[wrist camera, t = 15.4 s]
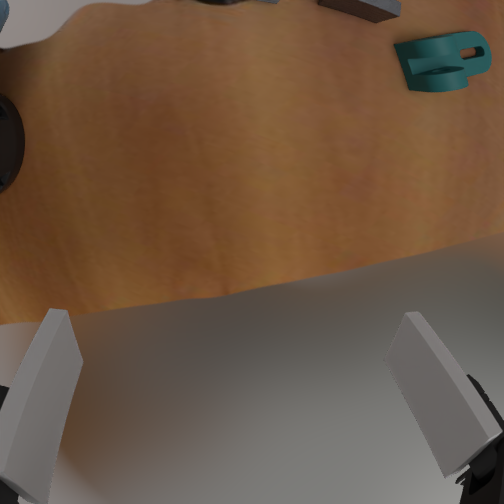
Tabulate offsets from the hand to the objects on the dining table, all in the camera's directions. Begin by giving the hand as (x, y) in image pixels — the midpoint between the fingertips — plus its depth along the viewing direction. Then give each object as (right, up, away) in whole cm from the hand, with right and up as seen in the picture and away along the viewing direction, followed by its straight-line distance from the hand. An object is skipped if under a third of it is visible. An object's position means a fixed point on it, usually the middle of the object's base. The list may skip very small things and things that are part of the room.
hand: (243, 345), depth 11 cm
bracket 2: (+28, +32, +22) cm, 48 cm away
